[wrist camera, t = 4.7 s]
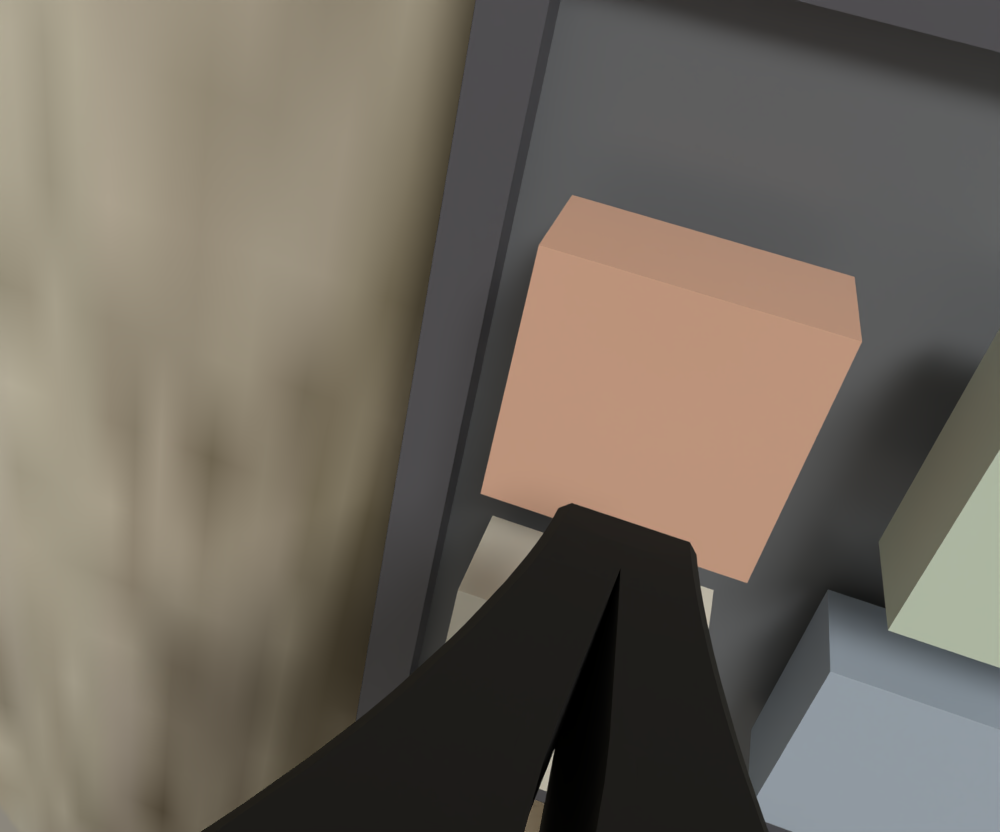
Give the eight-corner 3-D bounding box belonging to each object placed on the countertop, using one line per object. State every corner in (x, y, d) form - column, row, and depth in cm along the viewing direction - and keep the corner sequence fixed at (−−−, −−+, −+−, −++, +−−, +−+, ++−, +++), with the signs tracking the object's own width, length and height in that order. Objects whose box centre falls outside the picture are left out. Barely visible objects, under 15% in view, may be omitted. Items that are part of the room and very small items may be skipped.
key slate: (1057, 665, 16) (1086, 759, 14) (950, 800, 18) (965, 895, 17) (827, 589, 17) (830, 671, 15) (751, 729, 19) (745, 815, 17)
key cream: (713, 589, 16) (703, 675, 14) (648, 735, 18) (632, 823, 17) (492, 515, 16) (458, 590, 15) (455, 665, 19) (421, 744, 17)
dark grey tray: (1616, 94, 12) (1750, 136, 10) (949, 874, 22) (961, 959, 20) (540, -166, 13) (503, -168, 12) (386, 669, 23) (354, 731, 22)
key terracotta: (854, 276, 13) (861, 341, 11) (753, 500, 15) (746, 582, 13) (571, 195, 13) (538, 245, 11) (515, 423, 15) (480, 493, 14)
